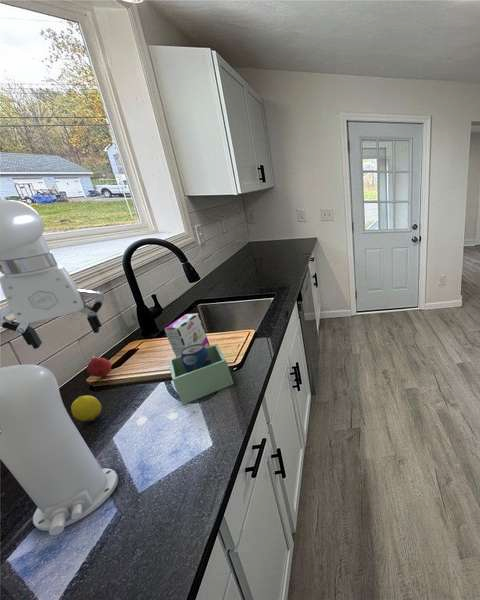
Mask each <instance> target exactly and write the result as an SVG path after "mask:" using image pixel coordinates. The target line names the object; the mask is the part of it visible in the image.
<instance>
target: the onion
mask: <svg viewBox="0 0 480 600" xmlns="http://www.w3.org/2000/svg"><path fill="white" fill-rule="evenodd" d="M111 369H112V363H111V362H110V360H108V359H106V358H104V357H97V355H93V356H92V357H91V360H90V361H89V362H88V364H87V367H86V370H87V373H88V374H90V376H92V377H97V378H104V377H106V376H107V375H108V374H109V372H110V371H111ZM107 373H108V374H107Z"/></svg>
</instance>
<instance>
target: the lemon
mask: <svg viewBox="0 0 480 600" xmlns="http://www.w3.org/2000/svg"><path fill="white" fill-rule="evenodd" d="M70 410H71V414H72V416H73V417H74V418H75V420H76V419H77V420H78V421H80V422H81V421H82V422H89V421H94V420H96V418H98V416H99V415H100V414H101V412H102V403H101V402H100V401H99V400H98V398H97V397H95V396H93V395H79V396H78V397H77V398H76V399H74V401H73V402H72V403H71V407H70Z"/></svg>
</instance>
